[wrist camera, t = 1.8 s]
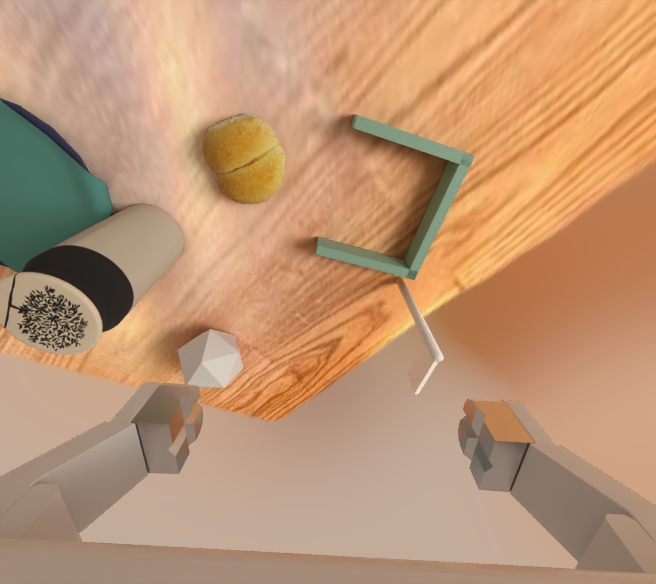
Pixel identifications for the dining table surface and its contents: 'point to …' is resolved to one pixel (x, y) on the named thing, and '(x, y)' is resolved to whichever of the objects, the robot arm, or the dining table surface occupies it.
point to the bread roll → (245, 158)
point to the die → (210, 359)
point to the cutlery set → (42, 188)
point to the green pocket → (421, 240)
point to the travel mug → (89, 280)
